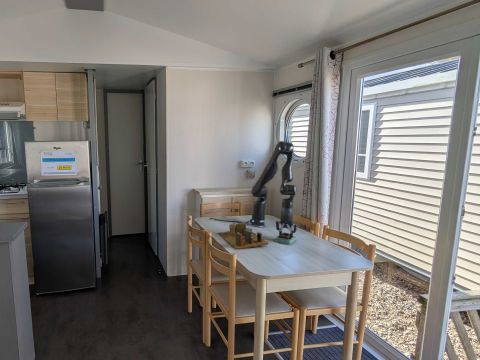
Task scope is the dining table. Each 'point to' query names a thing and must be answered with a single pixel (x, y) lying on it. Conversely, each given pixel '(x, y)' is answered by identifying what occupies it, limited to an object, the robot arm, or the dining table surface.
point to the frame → (285, 236)
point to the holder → (285, 240)
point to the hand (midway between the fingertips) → (285, 237)
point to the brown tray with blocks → (242, 236)
